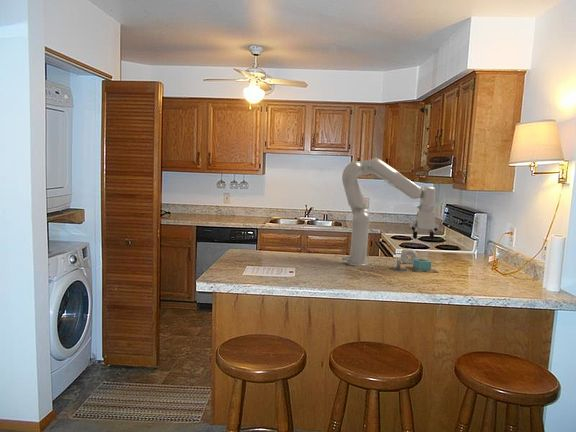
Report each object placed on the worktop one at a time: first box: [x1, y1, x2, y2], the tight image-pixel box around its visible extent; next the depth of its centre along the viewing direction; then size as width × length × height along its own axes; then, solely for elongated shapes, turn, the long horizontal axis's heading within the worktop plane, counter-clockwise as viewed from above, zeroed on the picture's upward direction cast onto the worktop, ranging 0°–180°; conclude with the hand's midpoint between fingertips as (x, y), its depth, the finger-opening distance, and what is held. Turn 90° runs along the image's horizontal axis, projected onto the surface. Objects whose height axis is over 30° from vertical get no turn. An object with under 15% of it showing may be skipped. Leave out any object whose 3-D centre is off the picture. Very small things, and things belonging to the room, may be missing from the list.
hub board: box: [405, 258, 439, 274], centre depth 247 cm, size 14×12×7 cm
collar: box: [412, 258, 432, 271], centre depth 247 cm, size 7×7×5 cm
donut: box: [400, 248, 419, 266], centre depth 263 cm, size 10×4×10 cm, turn 89°
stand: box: [388, 259, 408, 272], centre depth 244 cm, size 10×10×6 cm
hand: (422, 238), depth 246 cm, fingers open, 9 cm apart
